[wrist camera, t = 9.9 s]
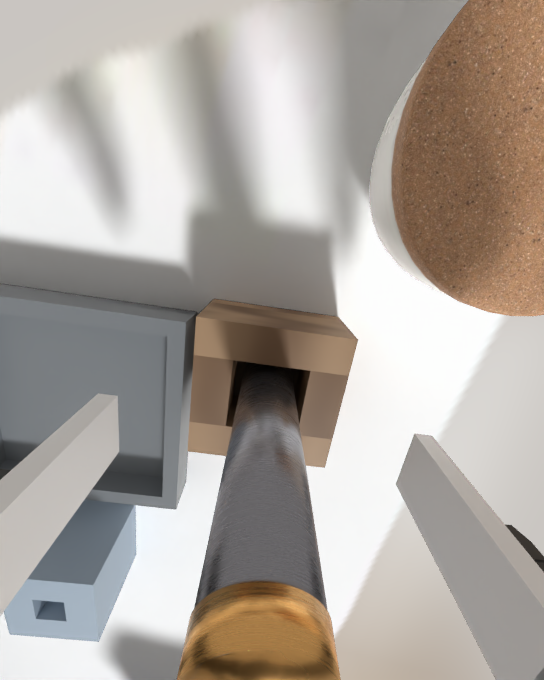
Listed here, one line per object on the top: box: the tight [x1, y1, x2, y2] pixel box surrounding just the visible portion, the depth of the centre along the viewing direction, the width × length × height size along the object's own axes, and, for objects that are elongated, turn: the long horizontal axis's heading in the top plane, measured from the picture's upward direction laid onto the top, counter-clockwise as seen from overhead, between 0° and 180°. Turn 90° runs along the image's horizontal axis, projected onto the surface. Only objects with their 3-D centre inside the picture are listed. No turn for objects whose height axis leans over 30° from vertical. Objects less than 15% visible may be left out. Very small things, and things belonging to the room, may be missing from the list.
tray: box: [0, 284, 197, 509], centre depth 19 cm, size 14×14×2 cm
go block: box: [187, 299, 358, 468], centre depth 17 cm, size 8×8×4 cm
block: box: [4, 500, 136, 642], centre depth 22 cm, size 6×6×6 cm
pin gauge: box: [177, 362, 340, 680], centre depth 12 cm, size 3×3×14 cm
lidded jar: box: [369, 0, 544, 316], centre depth 12 cm, size 11×11×9 cm
